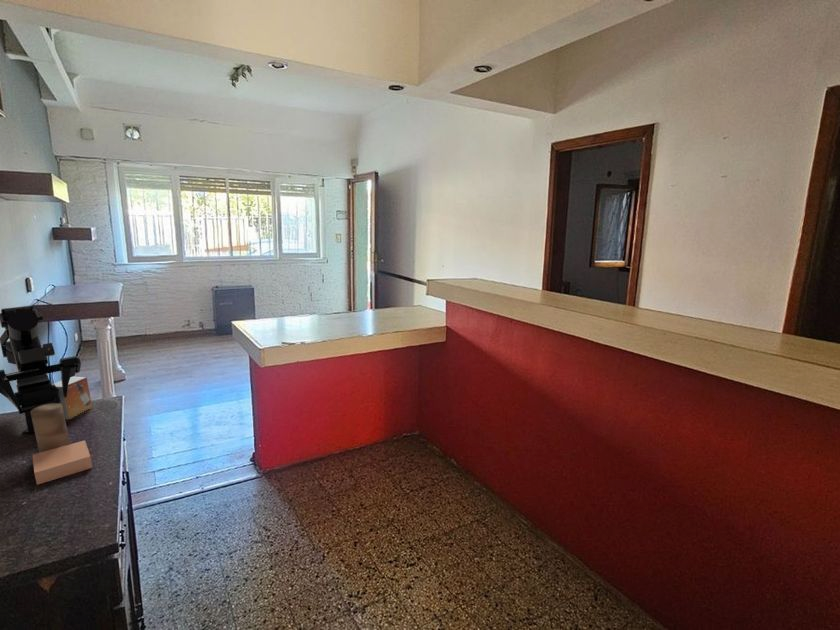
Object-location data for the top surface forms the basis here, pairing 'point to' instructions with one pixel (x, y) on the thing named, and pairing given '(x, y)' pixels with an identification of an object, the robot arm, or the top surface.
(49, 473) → the terracotta plinth
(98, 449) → the top surface
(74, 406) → the small box
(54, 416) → the beige tall cylinder
